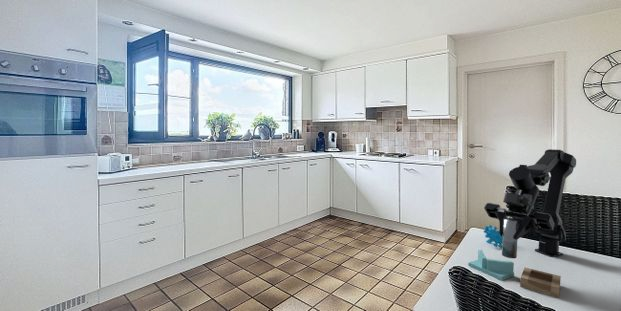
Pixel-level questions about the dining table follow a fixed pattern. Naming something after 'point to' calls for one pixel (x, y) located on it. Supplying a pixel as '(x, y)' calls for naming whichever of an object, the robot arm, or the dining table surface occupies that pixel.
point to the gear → (493, 236)
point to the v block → (493, 266)
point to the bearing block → (540, 282)
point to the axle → (509, 238)
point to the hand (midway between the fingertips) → (507, 236)
